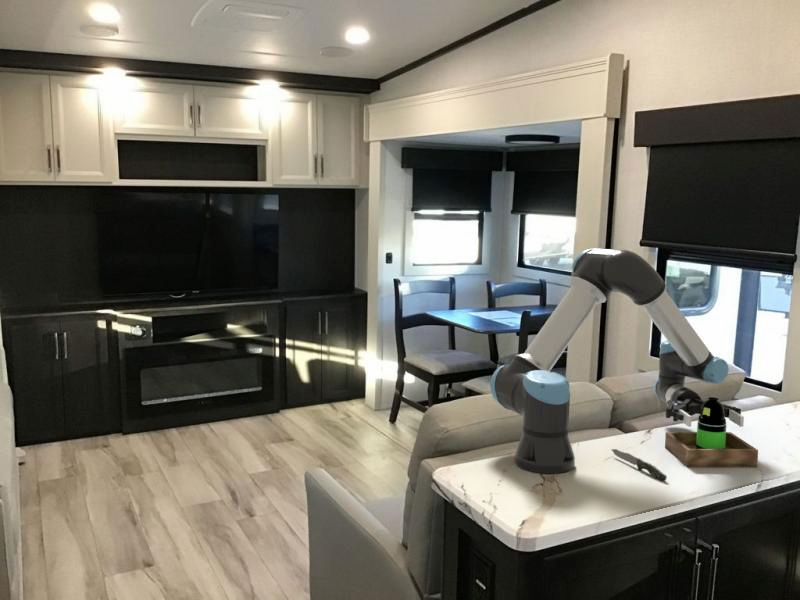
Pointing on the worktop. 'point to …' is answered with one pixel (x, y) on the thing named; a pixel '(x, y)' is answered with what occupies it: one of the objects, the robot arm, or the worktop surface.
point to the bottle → (711, 425)
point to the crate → (711, 451)
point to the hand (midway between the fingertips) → (716, 421)
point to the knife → (640, 464)
